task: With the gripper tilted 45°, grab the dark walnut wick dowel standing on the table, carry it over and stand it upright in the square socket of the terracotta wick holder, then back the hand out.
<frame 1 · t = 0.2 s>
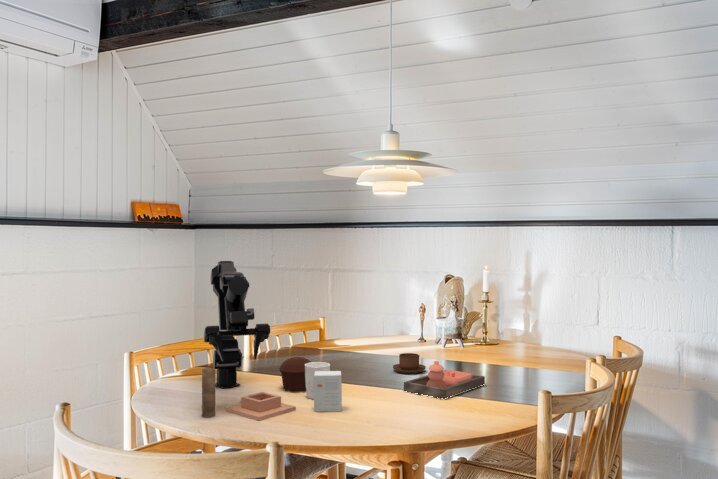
hand: (239, 359, 190), 14 cm above the table, tool tilted 35°, fingers open, 9 cm apart
cup and saucer: (409, 372, 242), on the table
white cup: (317, 397, 206), on the table
wick dowel: (208, 415, 184), on the table
small box: (327, 409, 192), on the table
wick holder: (261, 410, 190), on the table
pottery: (445, 389, 217), resting in serving frame
muffin: (297, 389, 216), on the table
serving frame: (444, 388, 217), on the table
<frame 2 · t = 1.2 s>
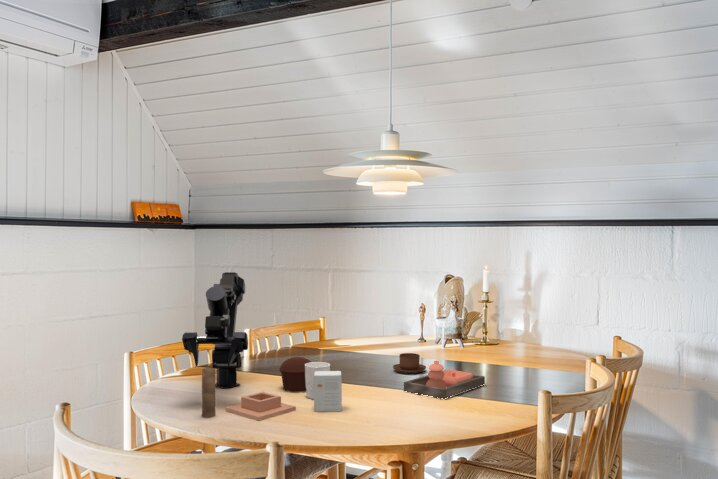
hand: (212, 365, 191), 13 cm above the table, tool tilted 45°, fingers open, 9 cm apart
nothing on the table moved.
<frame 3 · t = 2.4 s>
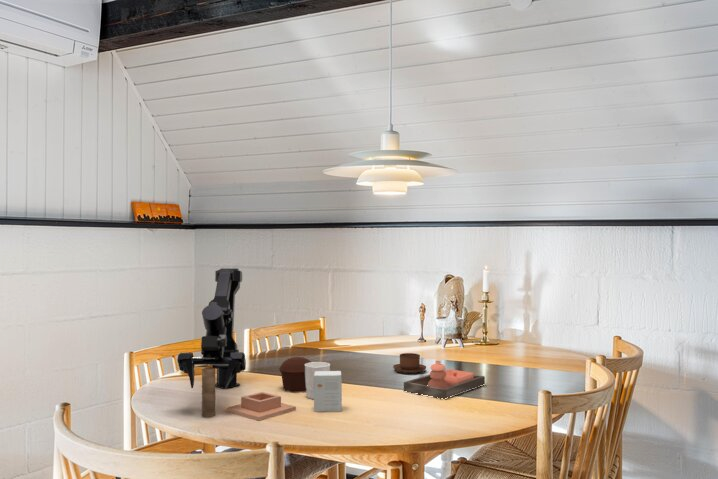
hand: (208, 387, 184), 8 cm above the table, tool tilted 45°, fingers open, 9 cm apart
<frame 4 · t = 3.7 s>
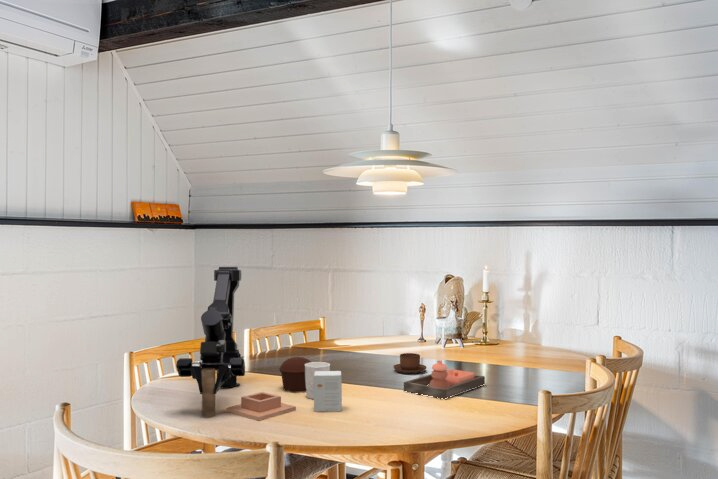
hand: (207, 393, 183), 7 cm above the table, tool tilted 45°, fingers closed on wick dowel, 4 cm apart
wick dowel: (208, 415, 184), on the table, touching gripper
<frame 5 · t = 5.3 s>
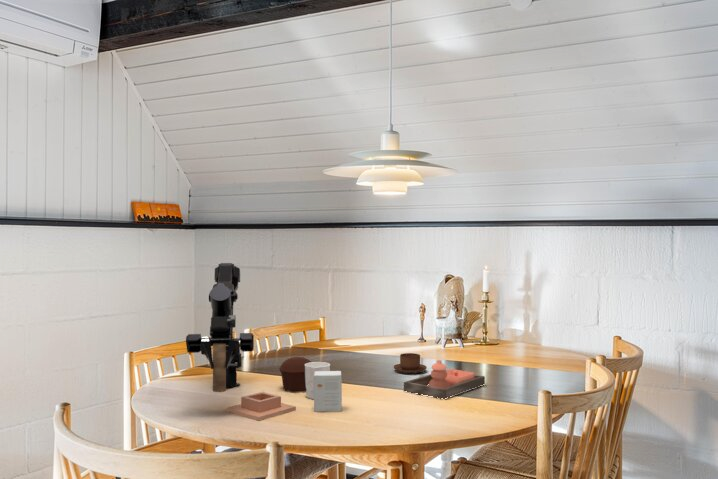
hand: (219, 368, 183), 13 cm above the table, tool tilted 45°, fingers closed on wick dowel, 4 cm apart
wick dowel: (219, 390, 185), point 7 cm above the table, touching gripper
when the fingers open (9 cm above the table, at t = 7.6 s): wick dowel drops 1 cm, resting on wick holder.
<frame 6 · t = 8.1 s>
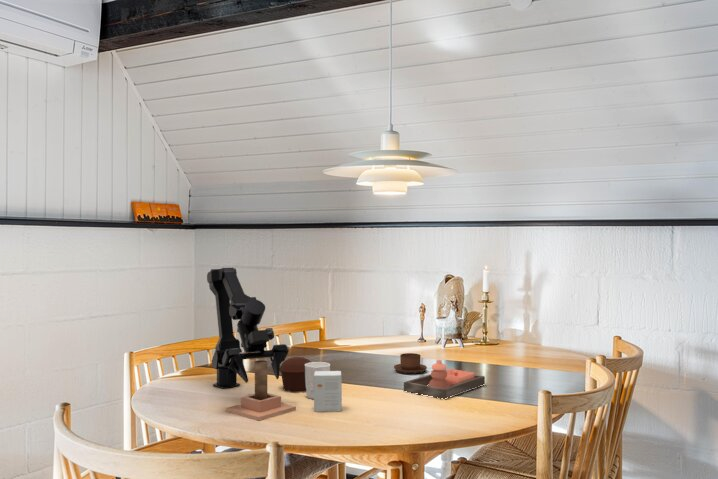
hand: (262, 380, 188), 9 cm above the table, tool tilted 45°, fingers open, 9 cm apart
wick dowel: (261, 407, 190), point 1 cm above the table, touching wick holder
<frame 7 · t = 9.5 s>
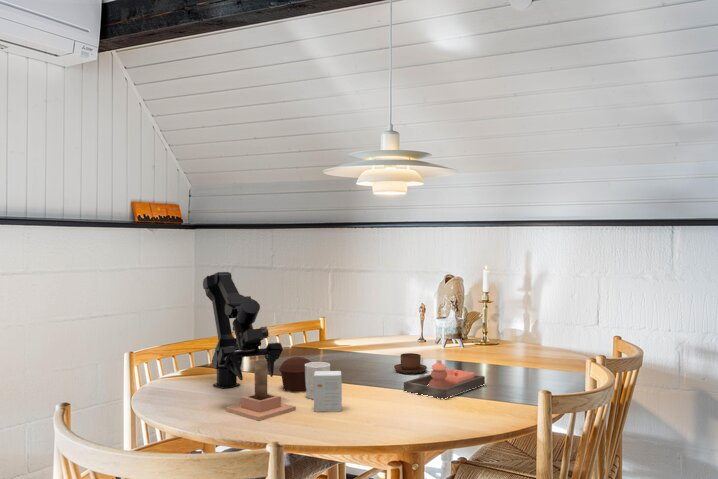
hand: (257, 377, 192), 9 cm above the table, tool tilted 45°, fingers open, 9 cm apart
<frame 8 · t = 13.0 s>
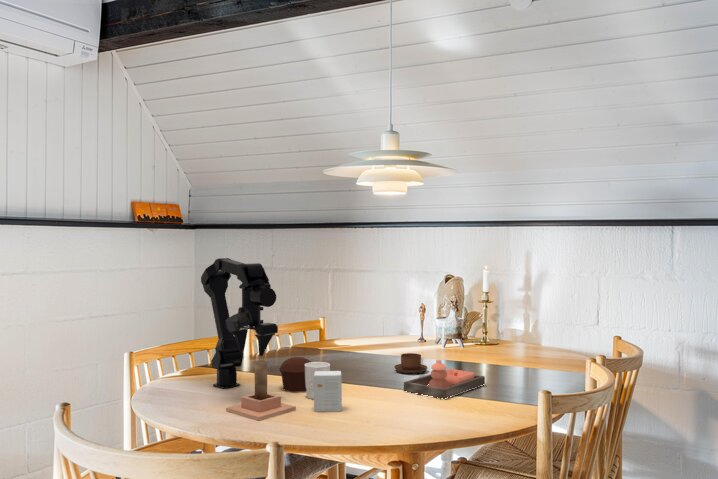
hand: (251, 354, 206), 13 cm above the table, tool pointing down, fingers open, 9 cm apart
at the end: wick dowel 0.0 cm off-centre on the wick holder, point 1.0 cm above the wick holder's base; wick dowel tilted 0°; the gripper is holding nothing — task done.
